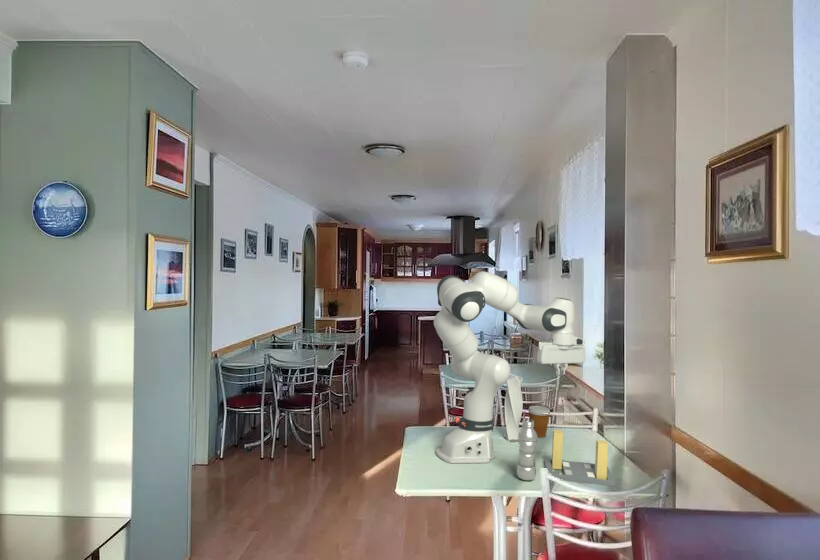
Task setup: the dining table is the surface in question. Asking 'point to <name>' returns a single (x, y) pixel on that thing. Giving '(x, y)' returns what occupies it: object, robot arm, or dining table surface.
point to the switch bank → (579, 472)
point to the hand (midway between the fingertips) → (560, 374)
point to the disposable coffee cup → (539, 419)
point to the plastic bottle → (527, 451)
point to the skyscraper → (513, 408)
